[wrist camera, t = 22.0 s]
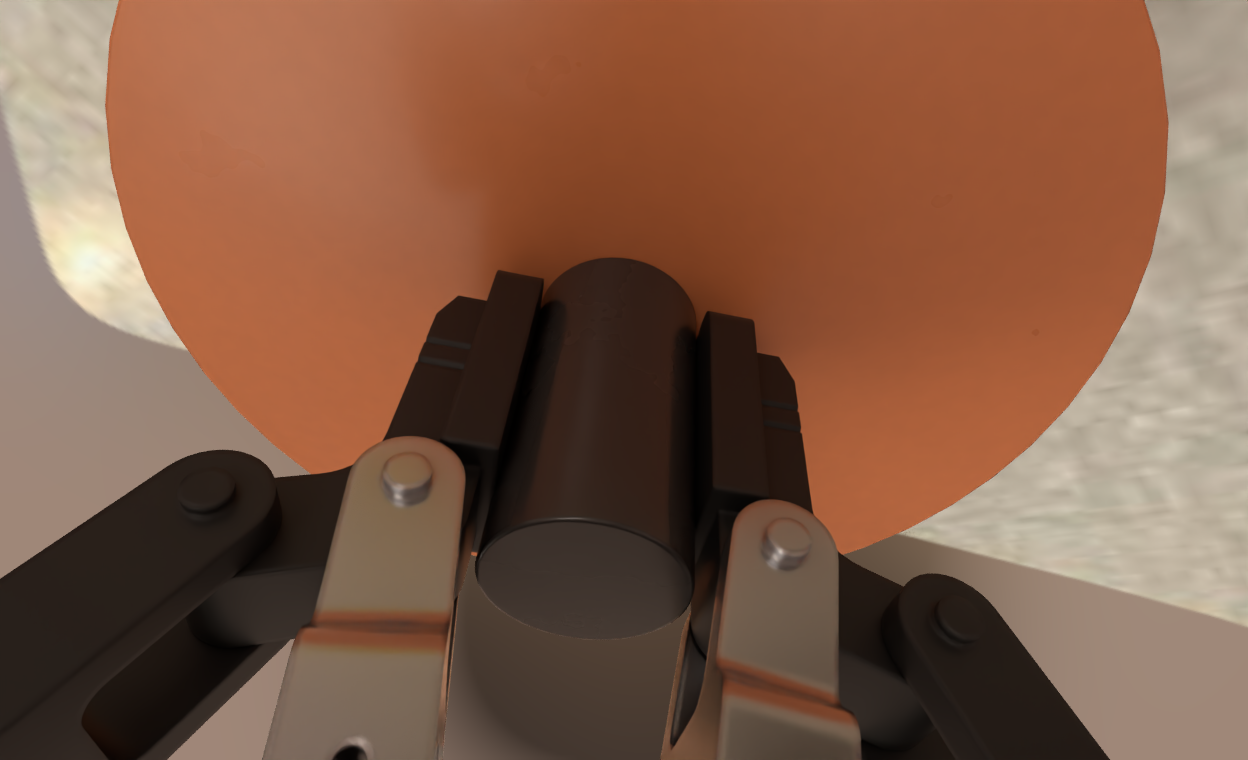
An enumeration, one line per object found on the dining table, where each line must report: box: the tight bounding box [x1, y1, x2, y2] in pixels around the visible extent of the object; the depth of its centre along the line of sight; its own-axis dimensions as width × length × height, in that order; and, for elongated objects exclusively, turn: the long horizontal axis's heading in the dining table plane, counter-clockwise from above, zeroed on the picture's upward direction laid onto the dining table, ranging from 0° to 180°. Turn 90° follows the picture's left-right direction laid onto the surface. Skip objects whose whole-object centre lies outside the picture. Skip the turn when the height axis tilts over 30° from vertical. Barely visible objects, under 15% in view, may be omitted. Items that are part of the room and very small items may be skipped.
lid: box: [105, 0, 1168, 640], centre depth 11 cm, size 16×16×6 cm
